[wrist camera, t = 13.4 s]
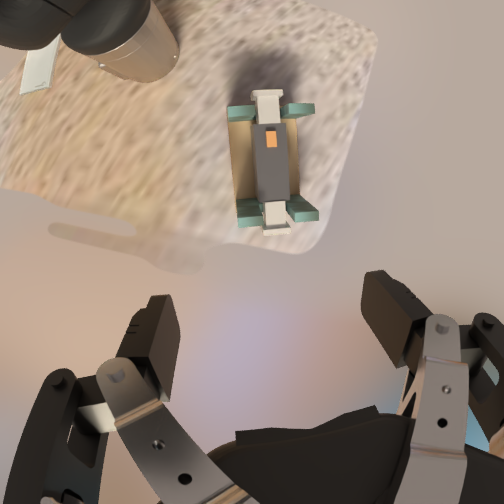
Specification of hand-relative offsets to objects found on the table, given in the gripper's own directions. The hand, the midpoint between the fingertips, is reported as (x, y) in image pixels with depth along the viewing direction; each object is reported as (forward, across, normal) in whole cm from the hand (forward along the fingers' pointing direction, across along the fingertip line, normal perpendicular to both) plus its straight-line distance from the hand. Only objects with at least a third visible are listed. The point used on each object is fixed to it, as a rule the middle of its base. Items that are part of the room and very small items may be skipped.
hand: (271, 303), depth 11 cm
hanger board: (+33, -4, -3) cm, 33 cm away
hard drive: (+34, +34, -30) cm, 56 cm away
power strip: (+31, -4, -3) cm, 31 cm away
